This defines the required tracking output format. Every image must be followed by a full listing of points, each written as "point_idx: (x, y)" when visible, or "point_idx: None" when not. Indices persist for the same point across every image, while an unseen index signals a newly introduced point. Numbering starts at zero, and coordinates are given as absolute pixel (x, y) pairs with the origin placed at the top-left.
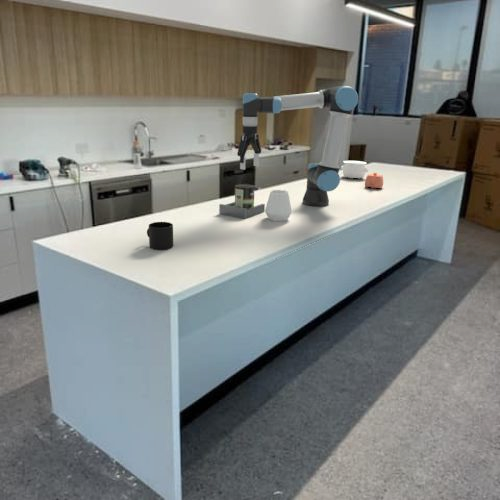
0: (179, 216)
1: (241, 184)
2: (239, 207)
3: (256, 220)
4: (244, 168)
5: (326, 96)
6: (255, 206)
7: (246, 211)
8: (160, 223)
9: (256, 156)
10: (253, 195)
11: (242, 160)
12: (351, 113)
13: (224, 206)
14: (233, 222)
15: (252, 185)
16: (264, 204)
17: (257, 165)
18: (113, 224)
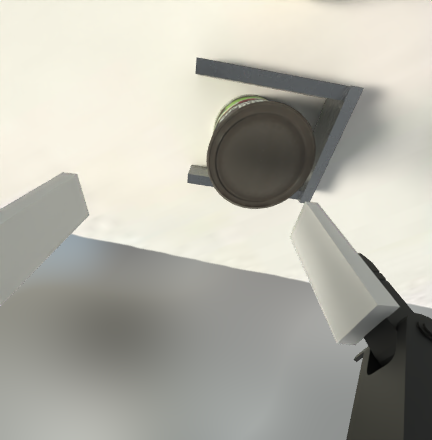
0: None
1: (228, 192)
2: (337, 123)
3: (358, 23)
4: (320, 209)
5: None
6: (259, 80)
7: (343, 85)
8: None
9: (3, 253)
10: (258, 99)
11: (382, 275)
12: None
13: (316, 184)
14: (400, 103)
15: (227, 130)
16: (198, 58)
17: (74, 182)
18: (428, 304)
